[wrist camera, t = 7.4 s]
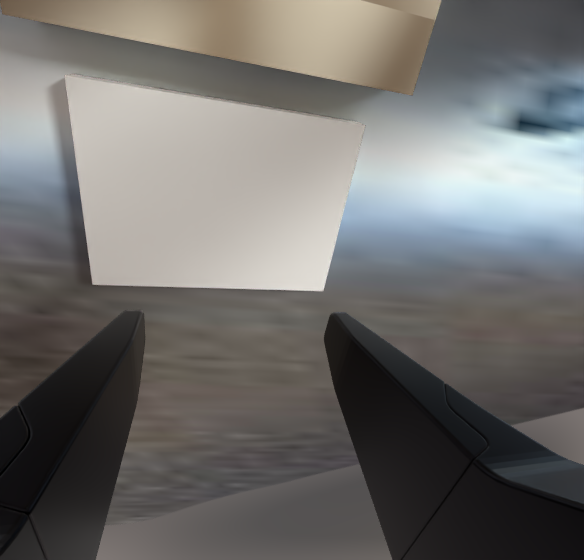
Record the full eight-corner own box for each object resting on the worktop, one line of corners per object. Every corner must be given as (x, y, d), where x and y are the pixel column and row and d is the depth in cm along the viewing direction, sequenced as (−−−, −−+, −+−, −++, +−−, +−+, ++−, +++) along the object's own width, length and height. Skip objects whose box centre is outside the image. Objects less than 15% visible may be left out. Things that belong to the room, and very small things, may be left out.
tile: (357, 121, 17) (365, 125, 16) (318, 281, 21) (323, 291, 21) (72, 73, 14) (64, 75, 13) (97, 274, 18) (92, 284, 17)
